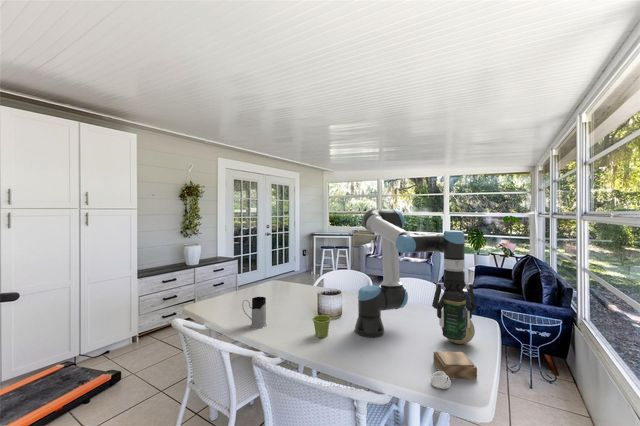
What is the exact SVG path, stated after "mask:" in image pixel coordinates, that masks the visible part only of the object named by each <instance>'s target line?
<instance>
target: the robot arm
mask: <svg viewBox="0 0 640 426" xmlns="http://www.w3.org/2000/svg"><path fill="white" fill-rule="evenodd" d="M405 220H406V219H405V216H404V214H403V213H402V212H401V210H399V209H396V208H372V209H369V210H368V211H366V212H365V213H364V215H363V216H362V220H361V223H362V226H363V227H364V228H365V230H367V231H368V232H369V233H373V234H374V233H375V234H377V235H379V236H380V237H381V247H382V248H381V249H382V250H381V251H382V255H381V256H382V275H383V276H382V277H383V280H382V281H381V283H380V286H379V285H376V284H373V285H372V284H370V285H364V286H362V287H360V289H359V290H358V295H357V300H358V301H357V302H358V304H357V306H358V307H357V308H358V309H357V311H358V312H357V313H358V314H357V315H358V317H357V319H356V323H355V326H354V331H355V332H354V333H356V334H357V335H359V336H361V337H366V338H377V337H382V336H383V335H384V334H385V327H384V324H383V320H382V317H381V314H382V313H381V312H382V311H390V310H399V309H402V308H404V307H405V306H406V305H407V304H408V300H409V294H408V293H409V292H408V291H407V288H406V287H405V286H404V285H403V282H402V281H401V280H400V278H401V277H400V259H399V253H401V254H409V255H410V254H415V253H416V254H417V253H436V252H437V253H441V254H443V268H444V269H443V281H442V282H435V292H434V295H433V300H432V304H431V306H432V307H433V308H434V310H435V309H436V316H437V318H438V319H439V321H438V323H439V324H438V325H439V326H440V327H441V328H442V327H444V311H443V306H444V299H443V294H442V296H441V293H442V289H443V287H444V291H443V293H444V292H446V291H452V290H456V291H459V292H460V293H463V294H465V293H466V292H467V296H468V298H467V297H466V327H467V328H470V319H471V320H472V317H473V311H474V310H477V309H478V306H477V302H476V298H475V295H474V291H473V290H474V284H472V283H470V282H467V283H466V282H465V279H466V278H465V275H466V274H465V263H466V262H465V261H466V260H465V258H466V257H465V250H466V249H465V248H466V247H465V246H466V245H465V244H466V241H465V239H466V238H465V233H464V231H462V230H450V229H449V230H448V229H447V230H444V232H443V234H440V233H434V232H433V233H432V232H431V233H426V234H413V233H411V232H408V231H406V230H405V229H404V227H405V224H406V222H405ZM465 288H466V292H465V291H464V289H465ZM463 291H464V292H465V293H464V292H463ZM468 299H469V300H468Z"/></svg>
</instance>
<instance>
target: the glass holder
mask: <svg viewBox="0 0 640 426" xmlns="http://www.w3.org/2000/svg"><path fill="white" fill-rule="evenodd" d="M266 301H267V298H266V297H265V296H255V297H252V298H251V303H250V300H248V299H244V300H243V301H242V304H241V306H242V310H243V312H244V314H245V315H246V316H247V317H248V318H249V319H250V320H251V325H250V327H251V328H252V329H255V328H260V329H264V328H266V327H267V325H268V324H267V303H266ZM244 302H248V307H249V309H251V316H250V315H248V313H247V312H246V310H245V307H244ZM263 327H264V328H263Z"/></svg>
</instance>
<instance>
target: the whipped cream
mask: <svg viewBox="0 0 640 426" xmlns="http://www.w3.org/2000/svg"><path fill="white" fill-rule="evenodd" d="M447 378H448V379H447ZM431 383H432V384H431ZM430 384H431V385H432V387H435V388H438V389H442V390H448V389H449V388H450V387H451V385H452V381H451V379H450V378H449V377H448V376H447V375H446V374H445V373H444V372H443V371H439V370H438V371H436V372H434V373H432V374H431V376H430Z"/></svg>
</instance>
